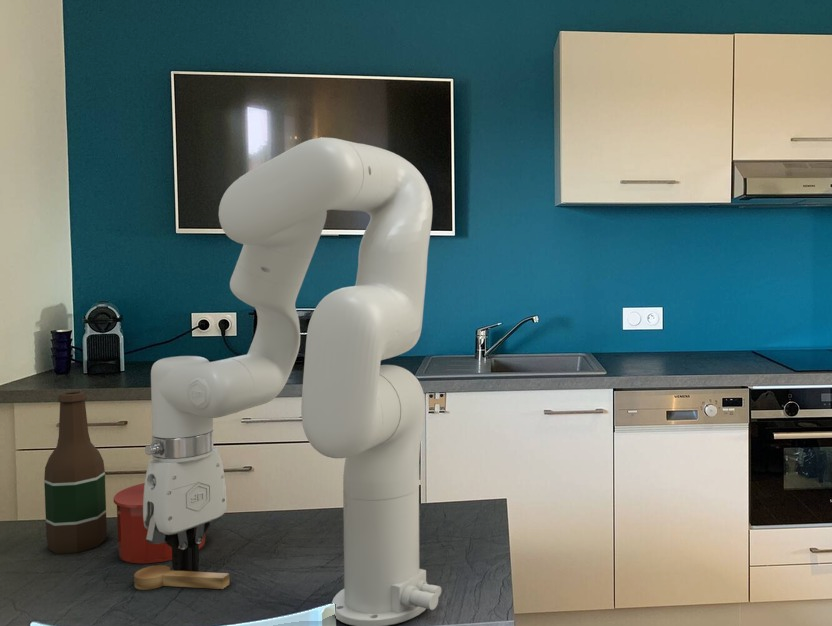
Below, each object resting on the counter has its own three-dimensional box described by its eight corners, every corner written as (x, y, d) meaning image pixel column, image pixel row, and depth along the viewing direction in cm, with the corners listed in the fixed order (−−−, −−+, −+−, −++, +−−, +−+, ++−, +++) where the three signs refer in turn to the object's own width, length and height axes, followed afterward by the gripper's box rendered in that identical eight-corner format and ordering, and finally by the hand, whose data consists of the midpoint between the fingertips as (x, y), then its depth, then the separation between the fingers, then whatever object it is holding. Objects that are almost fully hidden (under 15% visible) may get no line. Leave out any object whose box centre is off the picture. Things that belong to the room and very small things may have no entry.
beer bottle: (77, 557, 116) (71, 398, 115) (33, 552, 118) (27, 396, 116) (118, 537, 124) (114, 389, 122) (77, 533, 125) (72, 386, 124)
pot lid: (225, 492, 122) (225, 466, 122) (150, 517, 111) (149, 489, 111) (171, 481, 128) (171, 456, 127) (94, 504, 116) (93, 477, 116)
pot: (221, 541, 123) (220, 488, 122) (152, 569, 112) (151, 511, 112) (172, 529, 128) (171, 478, 127) (101, 555, 117) (99, 499, 117)
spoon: (235, 579, 109) (235, 568, 109) (217, 594, 105) (216, 582, 105) (148, 575, 110) (148, 564, 110) (126, 589, 106) (126, 577, 106)
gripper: (150, 462, 100) (153, 600, 101) (247, 436, 114) (248, 558, 115) (113, 454, 103) (116, 588, 105) (211, 430, 117) (214, 549, 118)
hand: (185, 572), depth 110 cm, fingers closed
